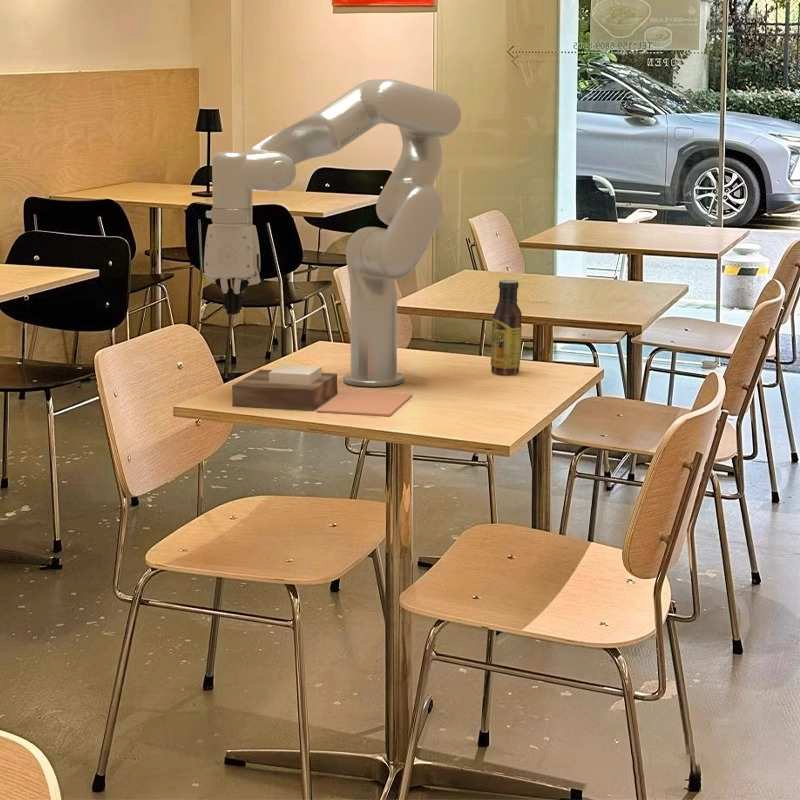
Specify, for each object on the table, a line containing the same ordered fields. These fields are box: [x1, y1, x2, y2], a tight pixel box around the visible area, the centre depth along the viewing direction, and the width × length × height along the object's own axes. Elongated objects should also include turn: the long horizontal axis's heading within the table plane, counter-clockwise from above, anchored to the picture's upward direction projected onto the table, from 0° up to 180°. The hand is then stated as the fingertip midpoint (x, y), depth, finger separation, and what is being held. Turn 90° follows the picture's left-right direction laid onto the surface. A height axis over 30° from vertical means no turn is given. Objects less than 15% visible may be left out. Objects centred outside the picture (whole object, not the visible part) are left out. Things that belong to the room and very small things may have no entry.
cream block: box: [269, 364, 323, 385], centre depth 262 cm, size 8×8×2 cm
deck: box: [231, 369, 338, 412], centre depth 263 cm, size 16×16×4 cm
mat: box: [316, 390, 413, 417], centre depth 260 cm, size 18×14×1 cm
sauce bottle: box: [490, 279, 523, 376], centre depth 287 cm, size 6×6×20 cm
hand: (233, 313), depth 262 cm, fingers closed
